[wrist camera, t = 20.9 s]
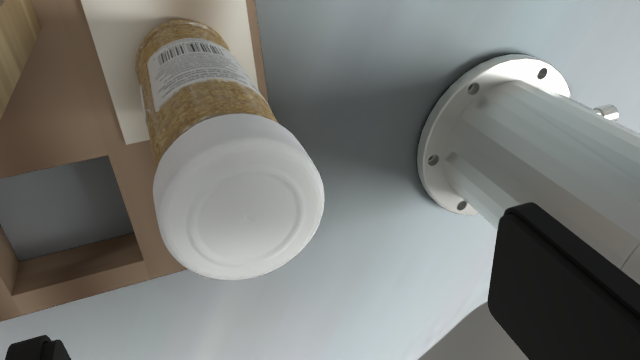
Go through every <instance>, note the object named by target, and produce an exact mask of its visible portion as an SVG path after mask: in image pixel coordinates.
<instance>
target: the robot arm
mask: <svg viewBox="0 0 640 360" xmlns="http://www.w3.org/2000/svg"><path fill="white" fill-rule="evenodd" d="M617 119H618V110H617V108H616V107H615V106H613V105H605V106H601V107H597V108H594V109H591V108H589V107H587V106H585V105H583V104H581V103H579V102H577V101H575V100H572V99H571V97H570V92H569V89H568V86H567V83H566V81H565V79H564V78H563V76H562V75H561V73H560V72H559V71H558V70H557V69H556V68H555V67H553V66H552V65H551V64H549V63H547V62H545V61H543V60H541V59H538V58H536V57H532V56H529V55H525V54H509V55H504V56H499V57H495V58H493V59H490V60H488V61H485V62H483V63H481V64H479V65H477V66H476V67H474V68H473V69H471V70H469V71H468V72H466V73H465V74H464V75H462V76H461V77H460V78H459V79H458V80H457V81H456V82H454V83H453V84H452V85H451V86H450V87H449V88H448V90H447V91H446V92H445V93H444V94H443V95H442V97H441V98H440V99H439V100H438V102H437V104H436V105H435V107H434V108H433V110H432V111H431V113H430V115H429V117H428V119H427V121H426V123H425V126H424V128H423V130H422V134H421V137H420V141H419V145H418V154H417V166H418V174H419V177H420V180H421V183H422V186H423V187H424V189H425V190H426V192H427V193H428V195H429V196H430V197H431V198H432V199H433V200H434V201H435V202H436V203H437V204H438V205H440V206H441V207H443V208H444V209H446V210H448V211H450V212H453V213H456V214H462V215H477V214H480V215H482V216H483V217H484V218H485V219H486V220H487V221H488V222H489V223H490V224H491V225H493V226H494V227H495V228H496V229H497V230H498V231H497V238H496V245H495V252H494V259H493V266H492V273H491V280H490V288H489V295H488V307H489V310H490V312H491V314H492V316H493V317H494V318H495V320H496V321H497V322H498V323H499V324H500V325H501V327H502V328H503V329H504V330H505V331H506V333H507V334H508V335H509V336H510V337H511V339H512V340H513V341H514V342H515V343H516V344H517V345H518V347H519V348H520V349H521V350H522V352H523V353H524V354H525V355H526V356H527V357H528V359H529V360H640V134H639V133H637V132H635V131H633V130H631V129H629V128H626V127H624V126H622V125H620V124H618V123H616V120H617ZM5 360H71V358H70V357H69V355H68V353H67V351H66V349H65V347H64V345H63V343H62V341H61V340H55V341H51V340H50V338H49V337H48V336H47V335H43V336H39V337H36V338H32V339H28V340H25V341H21V342H17V343H14V344H11V345H10V346H9V348H8V351H7V354H6V358H5Z"/></svg>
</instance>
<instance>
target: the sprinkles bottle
mask: <svg viewBox="0 0 640 360" xmlns="http://www.w3.org/2000/svg"><path fill="white" fill-rule="evenodd" d="M135 71H136V74H137V78H138V81H139V84H140V95H141V102H142V108H143V114H144V120H145V124H146V127H147V130H148V133H149V137H150V143H151V149H152V154H153V159H154V163H155V169H156V172H155V177H154V183H153V198H154V205H155V211H156V217H157V221H158V225H159V230H160V233H161V236H162V239H163V241H164V244H165V246H166V247H167V249H168V251H169V252H170V254H172V256H173V257H174V258H175V259H176V260H177V261H178V262H179V263H180V264H181V265H183V266H184V267H186V268H187V269H189V270H190V271H192V272H194V273H196V274H199V275H201V276H204V277H208V278H212V279H217V280H242V279H248V278H253V277H257V276H261V275H264V274H266V273H269V272H271V271H273V270H275V269H277V268H279V267H281V266H283V265H284V264H286V263H287V262H289V261H290V260H291V259H293V258H294V257H295V256H296V255H297V254H298V253H299V252H300V251H302V250H303V248H304V247H305V246H306V245H307V244H308V242H309V241H310V240H311V238H312V237H313V235H314V234H315V232H316V230H317V228H318V226H319V224H320V221H321V218H322V214H323V210H324V202H325V198H324V187H323V183H322V179H321V177H320V174H319V172H318V170H317V168H316V166H315V165H314V163H313V162H312V160H311V159H310V157H309V156H308V154H307V153H306V151H305V150H304V148H303V147H302V145H301V144H300V143H299V141H298V140H297V139H296V138H295V137H294V135H293V134H292V133H291V132H289V131H288V130H287V129H286V128H285V127H283V126H281V125H280V124H279V123H278V121H277V120H276V118H275V117H274V115H273V113H272V111H271V109H270V107H269V105H268V103H267V102H266V101H265V99H264V98H263V96H262V95H261V93H260V92H259V91H258V89H257V88H256V86H255V85H254V84H253V82H252V81H251V79H250V78H249V76H248V75H247V74H246V72H245V71H244V69H243V68H242V66H241V65H240V64H239V62H238V61H237V60H236V58H235V57H234V56H233V55H232V54H231V53H230V50H229V47H228V45H227V44H226V42H225V41H224V40H223V38H222V37H221V36H220V35H219V34H218V33H217V32H216V31H215V30H214V29H212V28H211V27H209V26H207V25H206V24H203V23H201V22H198V21H192V20H187V19H185V20H172V21H169V22H166V23H163V24H161V25H159V26H157V27H155V28H154V29H153V30H152V31H151V32H150V33H149V34H148V35H146V36H145V37H144V39H143V41H142V43H141V44H140V46H139V48H138V50H137V53H136V64H135Z"/></svg>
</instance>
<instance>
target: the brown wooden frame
mask: <svg viewBox="0 0 640 360" xmlns="http://www.w3.org/2000/svg"><path fill="white" fill-rule="evenodd" d="M185 19H187V20H192V21H198V22H201V23H203V24H206V25H207V26H209V27H211V28H212V29H214V30H215V31H216V32H217V33H218V34H219V35H220V36H221V37H222V38H223V40H224V41H225V42H226V44H227V45H228V47H229V50H230V53H231V54H232V55H233V56H234V57H235V58H236V60H237V61H238V62H239V64H240V65H241V66H242V68H243V69H244V71H245V72H246V74H247V75H248V76H249V78H250V79H251V81H252V82H253V84H254V85H255V86H256V88H257V89H258V91H259V92H260V93H261V95H262V96H263V98H264V99H265V101H266V102H267V103H268V95H267V88H266V80H265V73H264V65H263V58H262V50H261V43H260V36H259V28H258V21H257V13H256V6H255V0H0V178H5V177H10V176H14V175H19V174H24V173H28V172H33V171H38V170H42V169H47V168H52V167H56V166H61V165H65V164H70V163H75V162H79V161H84V160H89V159H93V158H98V157H103V156H107V155H108V157H109V160H110V162H111V165H112V168H113V171H114V174H115V177H116V180H117V183H118V186H119V189H120V192H121V195H122V198H123V201H124V204H125V206H126V209H127V212H128V215H129V218H130V221H131V224H132V227H133V230H134V233H131V234H127V235H124V236H120V237H116V238H112V239H108V240H104V241H100V242H96V243H92V244H88V245H84V246H80V247H77V248H73V249H69V250H65V251H61V252H57V253H53V254H49V255H45V256H41V257H37V258H33V259H30V260H26V261H22V262H19V260H18V258H17V256H16V254H15V253H14V251H13V249H12V247H11V245H10V243H9V241H8V239H7V237H6V235H5V233H4V231H3V229H2V227H1V225H0V322H1V321H4V320H8V319H11V318H15V317H19V316H22V315H26V314H29V313H33V312H36V311H40V310H44V309H47V308H51V307H54V306H58V305H61V304H65V303H69V302H72V301H76V300H79V299H83V298H86V297H90V296H93V295H97V294H101V293H104V292H108V291H111V290H115V289H118V288H122V287H126V286H129V285H133V284H136V283H140V282H143V281H147V280H151V279H154V278H158V277H161V276H165V275H168V274H172V273H176V272H179V271H183V270H186V269H187V268H186V267H184V266H183V265H181V264H180V263H179V262H178V261H177V260H176V259H175V258H174V257H173V256H172V254H170V252H169V251H168V249H167V247H166V246H165V244H164V241H163V239H162V236H161V233H160V230H159V225H158V221H157V217H156V211H155V205H154V198H153V183H154V177H155V172H156V169H155V163H154V159H153V154H152V149H151V143H150V137H149V133H148V130H147V127H146V124H145V120H144V114H143V108H142V102H141V95H140V84H139V81H138V78H137V74H136V71H135V64H136V53H137V50H138V48H139V46H140V44H141V43H142V41H143V39H144V37H145V36H146V35H148V34H149V33H150V32H151V31H152V30H153V29H154V28H155V27H157V26H159V25H161V24H163V23H166V22H169V21H172V20H185ZM268 105H269V103H268Z"/></svg>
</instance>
